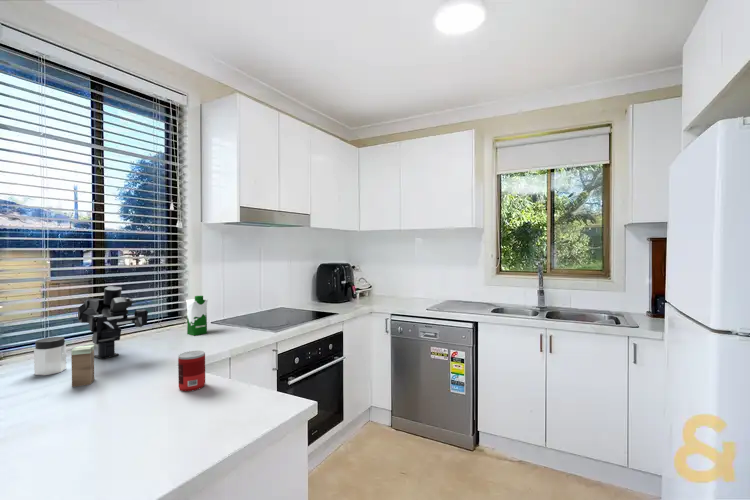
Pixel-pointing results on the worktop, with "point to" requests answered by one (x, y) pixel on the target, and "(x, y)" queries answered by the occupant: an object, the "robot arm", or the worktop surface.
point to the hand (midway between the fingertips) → (127, 327)
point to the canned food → (191, 370)
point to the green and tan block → (82, 365)
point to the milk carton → (197, 316)
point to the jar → (49, 356)
